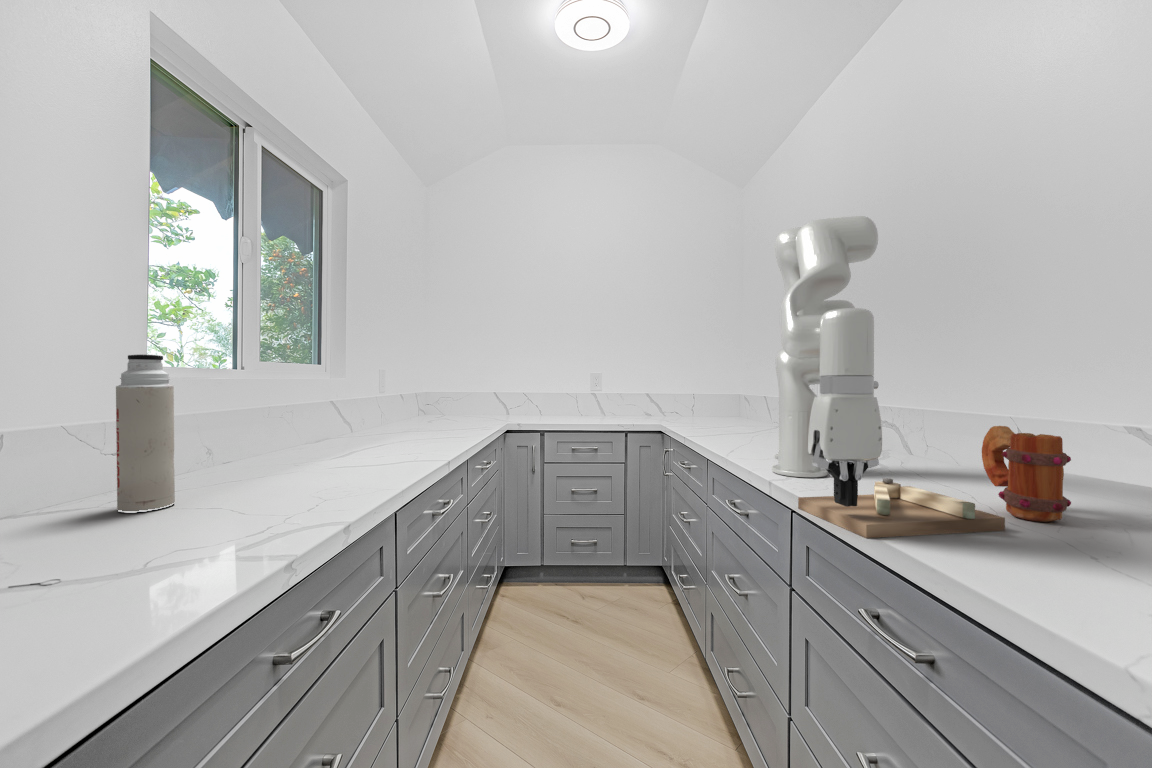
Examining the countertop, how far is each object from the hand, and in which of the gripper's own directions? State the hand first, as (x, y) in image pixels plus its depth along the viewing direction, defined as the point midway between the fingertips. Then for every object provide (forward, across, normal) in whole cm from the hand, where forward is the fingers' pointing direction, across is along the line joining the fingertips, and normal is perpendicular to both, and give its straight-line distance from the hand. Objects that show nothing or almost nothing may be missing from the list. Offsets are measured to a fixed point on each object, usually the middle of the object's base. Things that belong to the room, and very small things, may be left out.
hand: (845, 504), depth 78 cm
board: (+4, -12, -4) cm, 13 cm away
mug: (+4, -36, -3) cm, 36 cm away
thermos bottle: (+4, +118, -31) cm, 122 cm away
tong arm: (+2, -12, -5) cm, 13 cm away
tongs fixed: (+2, -17, -3) cm, 17 cm away
